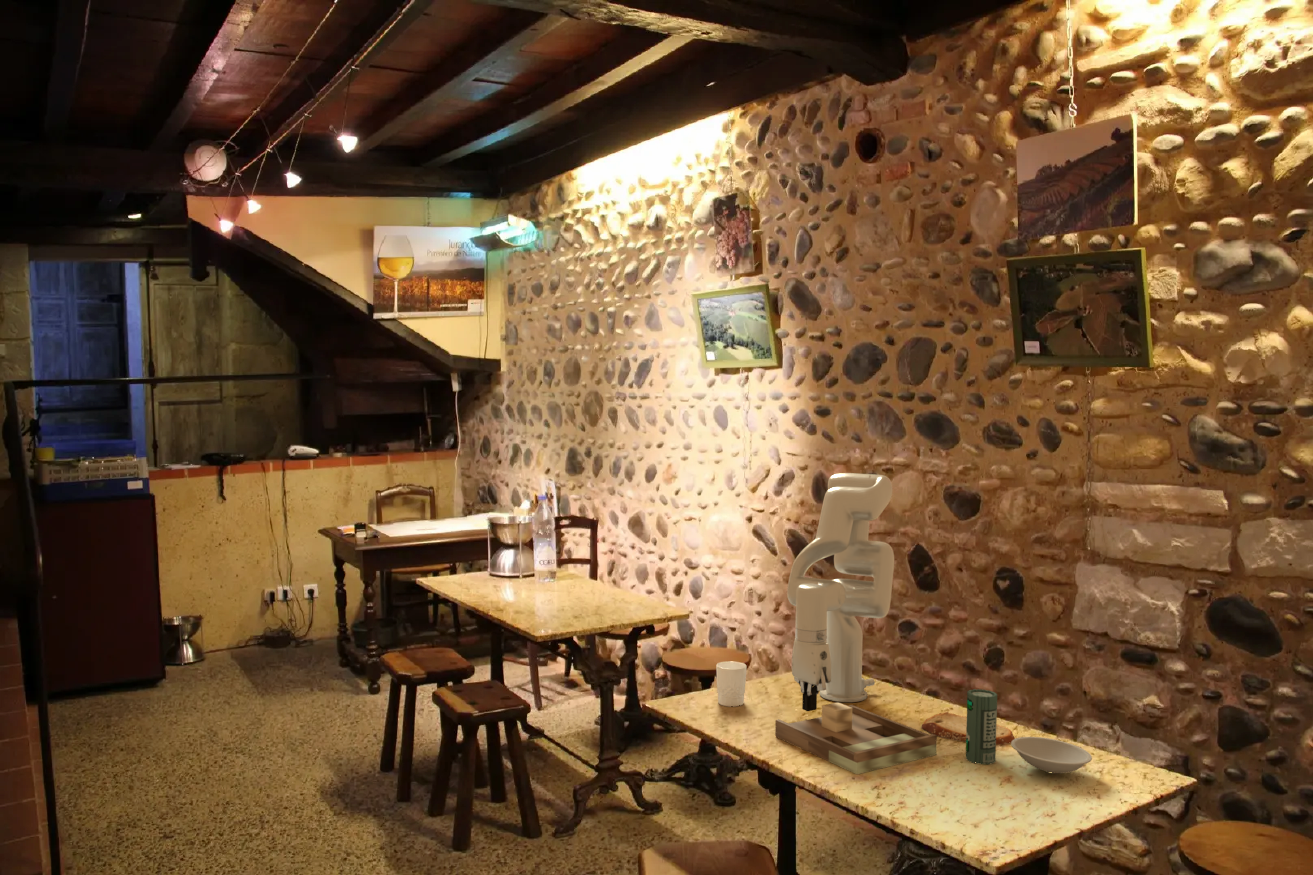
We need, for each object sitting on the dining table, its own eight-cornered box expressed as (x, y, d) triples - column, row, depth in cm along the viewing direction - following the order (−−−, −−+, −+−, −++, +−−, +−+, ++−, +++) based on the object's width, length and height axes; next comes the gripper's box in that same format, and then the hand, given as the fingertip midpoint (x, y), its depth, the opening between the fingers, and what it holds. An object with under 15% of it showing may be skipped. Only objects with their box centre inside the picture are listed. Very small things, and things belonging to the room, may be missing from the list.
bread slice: (1021, 743, 246) (1022, 728, 246) (954, 750, 241) (954, 734, 241) (978, 720, 263) (978, 705, 263) (914, 726, 258) (914, 711, 258)
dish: (994, 764, 231) (995, 742, 231) (1039, 754, 238) (1040, 732, 238) (1061, 792, 215) (1061, 768, 215) (1107, 779, 223) (1107, 756, 222)
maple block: (837, 722, 251) (838, 702, 250) (851, 728, 246) (852, 707, 246) (821, 726, 248) (822, 705, 248) (835, 732, 244) (836, 711, 243)
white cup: (710, 700, 276) (710, 663, 276) (736, 697, 279) (737, 660, 279) (724, 708, 269) (725, 670, 268) (751, 705, 272) (752, 667, 272)
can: (979, 752, 238) (981, 687, 237) (1000, 761, 233) (1002, 694, 232) (960, 757, 235) (962, 691, 234) (981, 766, 230) (983, 698, 229)
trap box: (851, 720, 260) (851, 702, 260) (936, 754, 237) (936, 735, 236) (775, 736, 248) (775, 717, 248) (856, 774, 224) (857, 753, 224)
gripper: (843, 639, 250) (841, 715, 251) (803, 627, 263) (801, 699, 264) (819, 643, 246) (817, 720, 247) (779, 630, 259) (778, 703, 260)
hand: (809, 709), depth 255 cm, fingers closed
